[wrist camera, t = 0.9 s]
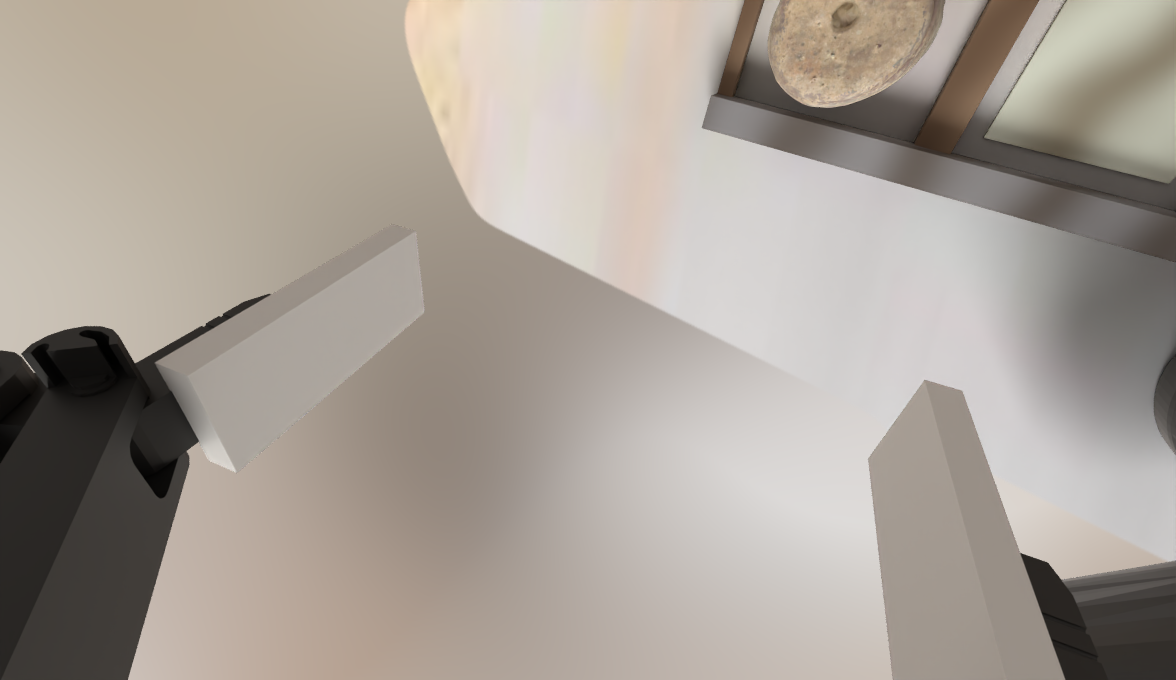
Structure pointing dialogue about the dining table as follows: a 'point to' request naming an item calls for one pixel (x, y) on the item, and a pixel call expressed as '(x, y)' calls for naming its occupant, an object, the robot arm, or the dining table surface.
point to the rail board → (1016, 119)
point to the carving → (848, 46)
